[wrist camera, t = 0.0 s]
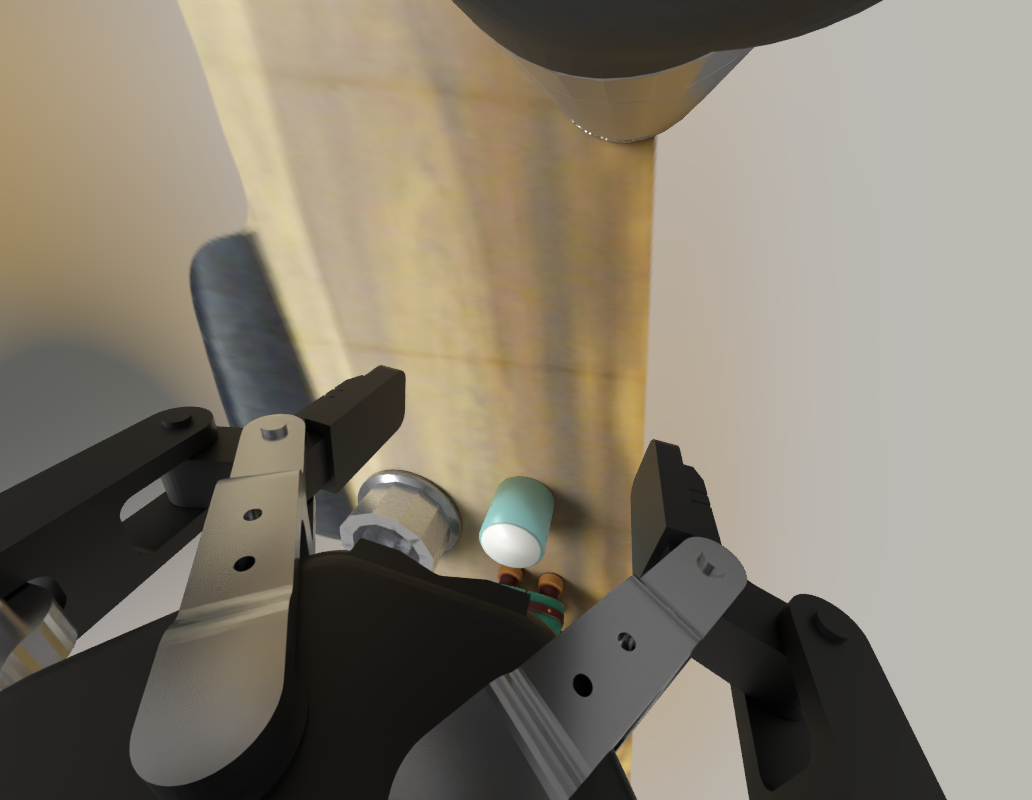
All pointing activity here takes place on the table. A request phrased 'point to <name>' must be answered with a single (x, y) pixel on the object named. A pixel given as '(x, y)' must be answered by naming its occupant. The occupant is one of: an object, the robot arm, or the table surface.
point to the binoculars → (539, 595)
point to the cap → (518, 522)
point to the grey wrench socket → (404, 517)
